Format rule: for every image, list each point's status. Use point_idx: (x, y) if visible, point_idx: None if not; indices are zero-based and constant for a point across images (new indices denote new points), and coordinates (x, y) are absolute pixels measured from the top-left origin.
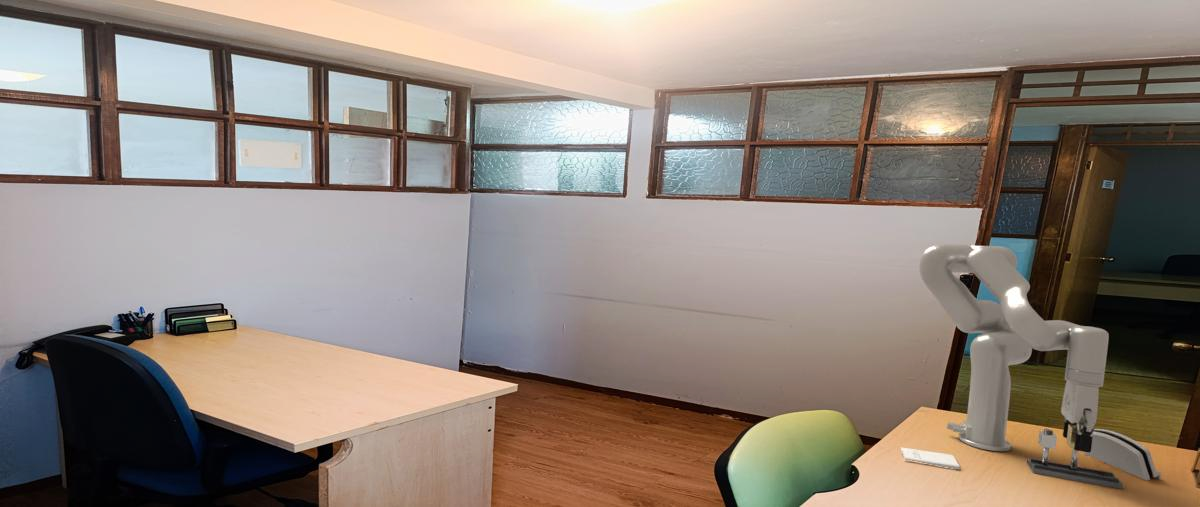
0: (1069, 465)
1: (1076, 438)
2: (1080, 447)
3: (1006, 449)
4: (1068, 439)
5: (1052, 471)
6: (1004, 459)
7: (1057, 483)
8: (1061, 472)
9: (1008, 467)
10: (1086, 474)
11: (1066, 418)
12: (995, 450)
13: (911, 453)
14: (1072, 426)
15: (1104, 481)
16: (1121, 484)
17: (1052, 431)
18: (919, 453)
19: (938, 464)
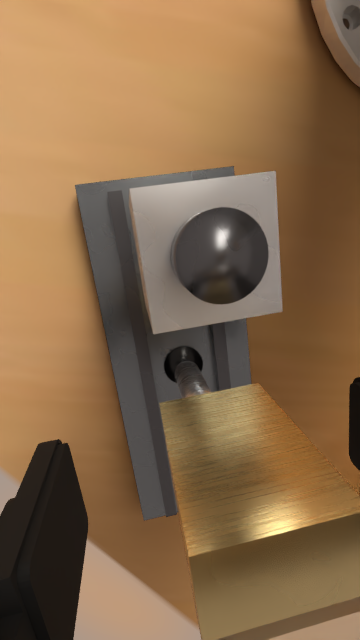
0: (219, 355)
1: (3, 532)
2: (10, 499)
3: (351, 71)
4: (230, 415)
5: (95, 276)
6: (205, 50)
7: (4, 290)
8: (114, 316)
9: (70, 57)
10: (148, 413)
11: (293, 634)
12: (312, 2)
13: None
14: (274, 552)
15: (134, 465)
16: (143, 514)
17: (205, 300)
18: None
19: None
